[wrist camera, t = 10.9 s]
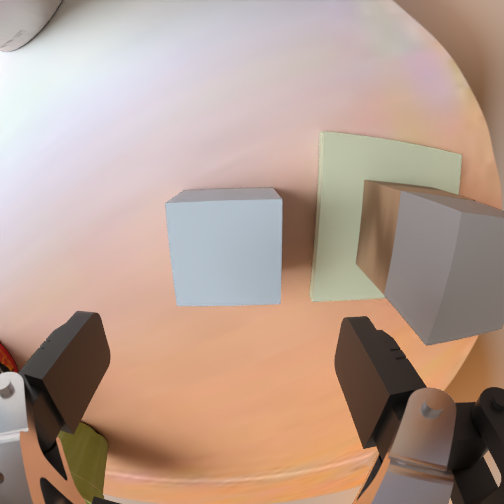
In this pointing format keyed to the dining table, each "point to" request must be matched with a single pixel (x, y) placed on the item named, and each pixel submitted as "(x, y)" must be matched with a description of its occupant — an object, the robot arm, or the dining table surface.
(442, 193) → the walnut block
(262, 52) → the dining table surface
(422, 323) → the grey block
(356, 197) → the plate
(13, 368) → the canned food
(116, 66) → the dining table surface
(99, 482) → the plant pot
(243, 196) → the blue block
